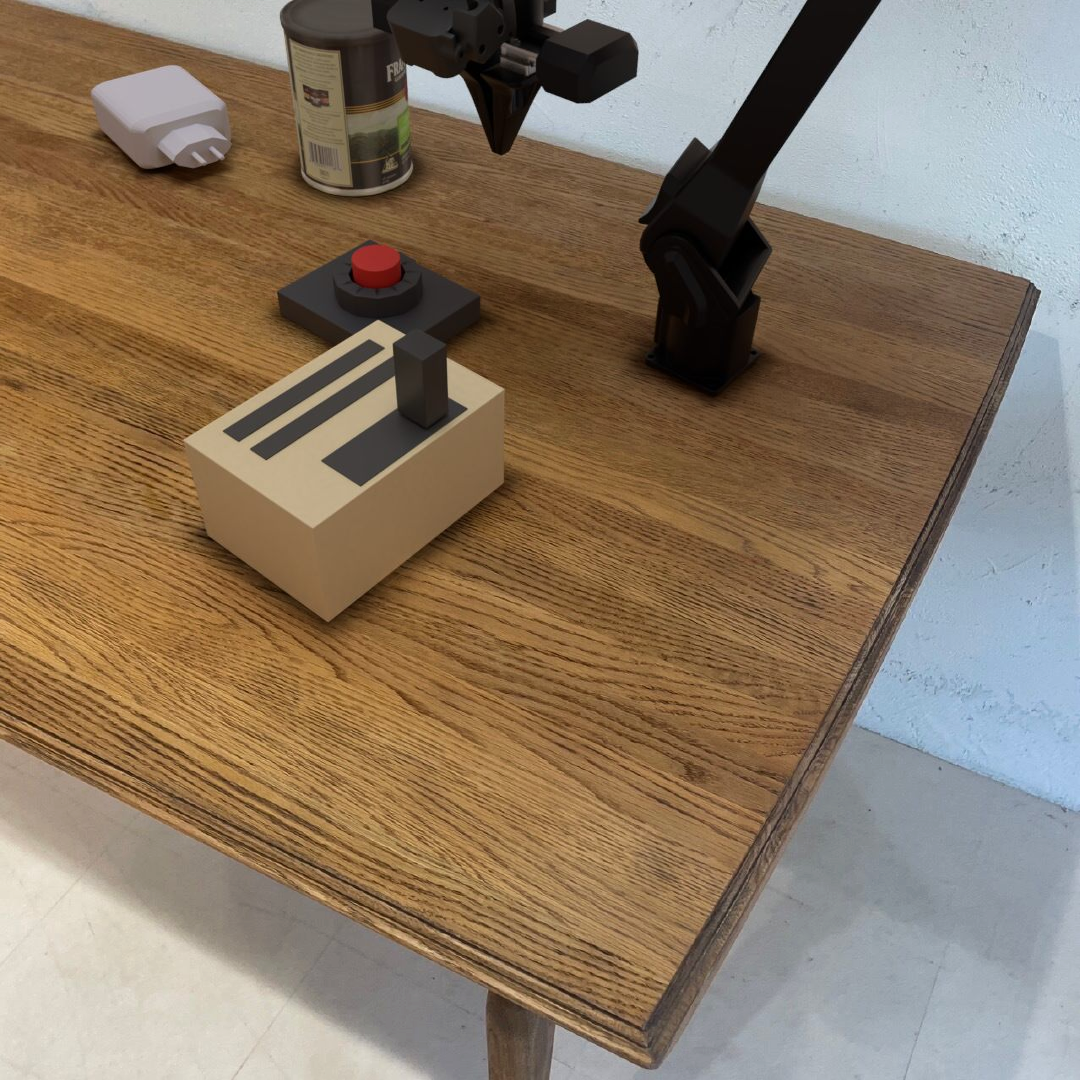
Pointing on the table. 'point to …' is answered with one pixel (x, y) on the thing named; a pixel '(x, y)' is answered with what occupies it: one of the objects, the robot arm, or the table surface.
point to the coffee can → (347, 97)
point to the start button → (376, 266)
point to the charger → (163, 118)
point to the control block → (378, 301)
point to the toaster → (344, 471)
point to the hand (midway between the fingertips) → (500, 152)
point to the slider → (421, 377)
